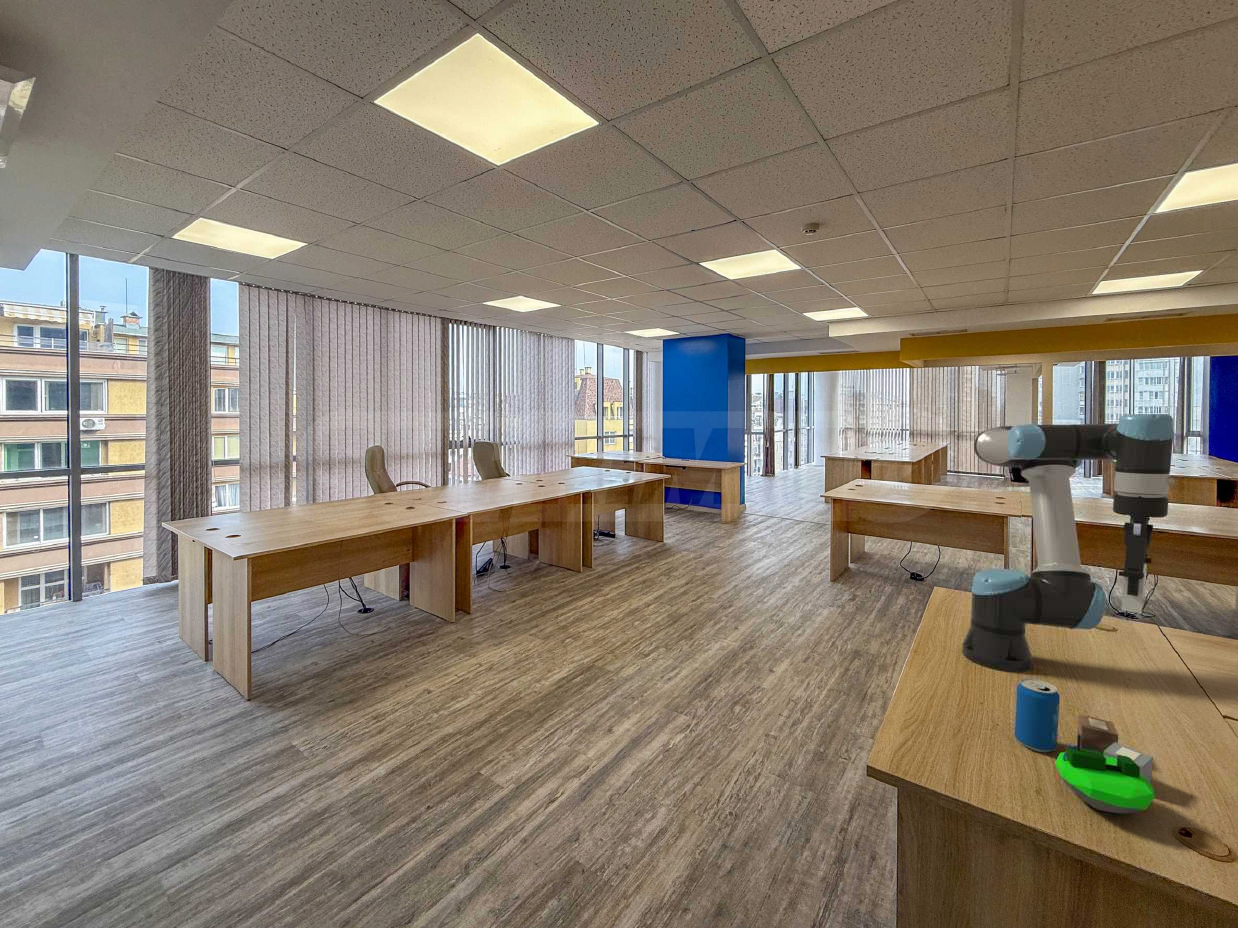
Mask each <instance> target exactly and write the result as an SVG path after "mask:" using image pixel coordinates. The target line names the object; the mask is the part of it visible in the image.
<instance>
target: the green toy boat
mask: <svg viewBox="0 0 1238 928" xmlns="http://www.w3.org/2000/svg"><path fill="white" fill-rule="evenodd" d="M1077 735H1078V734H1077ZM1076 740H1077V741H1076V742H1077V743H1076V745H1073V746H1072V744H1068V745H1067V747H1066V751H1064V752H1060V753H1059V755H1058V756H1057V758H1056V760H1055V765H1056V768H1057V770H1058V772H1059V773H1058V774H1059V775H1060V777H1061V778H1062V780H1063V782H1064V783H1065V785H1066V786H1067V787H1068V788H1069V789H1070V790H1071V791H1072V793H1073V794H1075V796H1076V797H1077V798H1078V799H1080V800H1081V801H1083V802H1085V803H1086V804H1088V805H1090V807H1092V808H1094V809H1096V810H1098V811H1103V812H1109V813H1113V814H1117V815H1118V814H1123V815H1124V814H1125V815H1129V814H1133V813H1137V812H1142V811H1145V810H1147V809H1148V808H1149V806H1150V805H1151V803H1152V802H1153V800H1154V799H1155V797H1156V796H1155V789H1154V786H1153V785H1152V783H1151V784H1150V783H1149V782H1148V781H1147V780H1146V779H1145V778H1144V777H1143V776H1142V775H1141V774H1140V767H1139V766H1138V765H1137V764H1136V763H1135V762H1134V761H1133V760H1132V759H1131V758H1129V757H1127V756H1122V755H1117V759H1116V758H1111V757H1107V756H1103V754H1102V753H1101V752H1100V751H1095V750H1088V749H1082V748H1080V740H1081V735H1078V739H1077V738H1076Z"/></svg>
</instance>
